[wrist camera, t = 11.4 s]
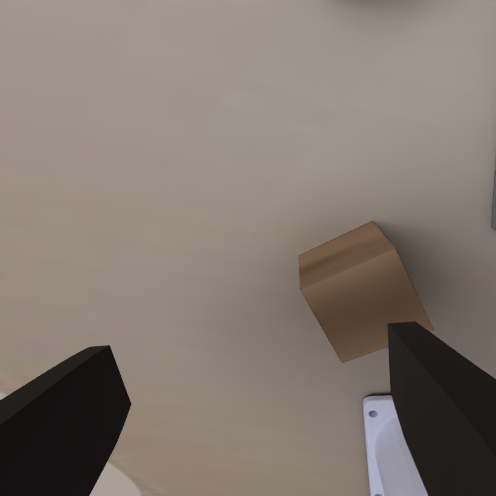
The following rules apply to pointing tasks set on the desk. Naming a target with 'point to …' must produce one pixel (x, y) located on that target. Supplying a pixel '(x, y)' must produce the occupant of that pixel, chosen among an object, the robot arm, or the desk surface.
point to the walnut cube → (359, 291)
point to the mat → (494, 204)
